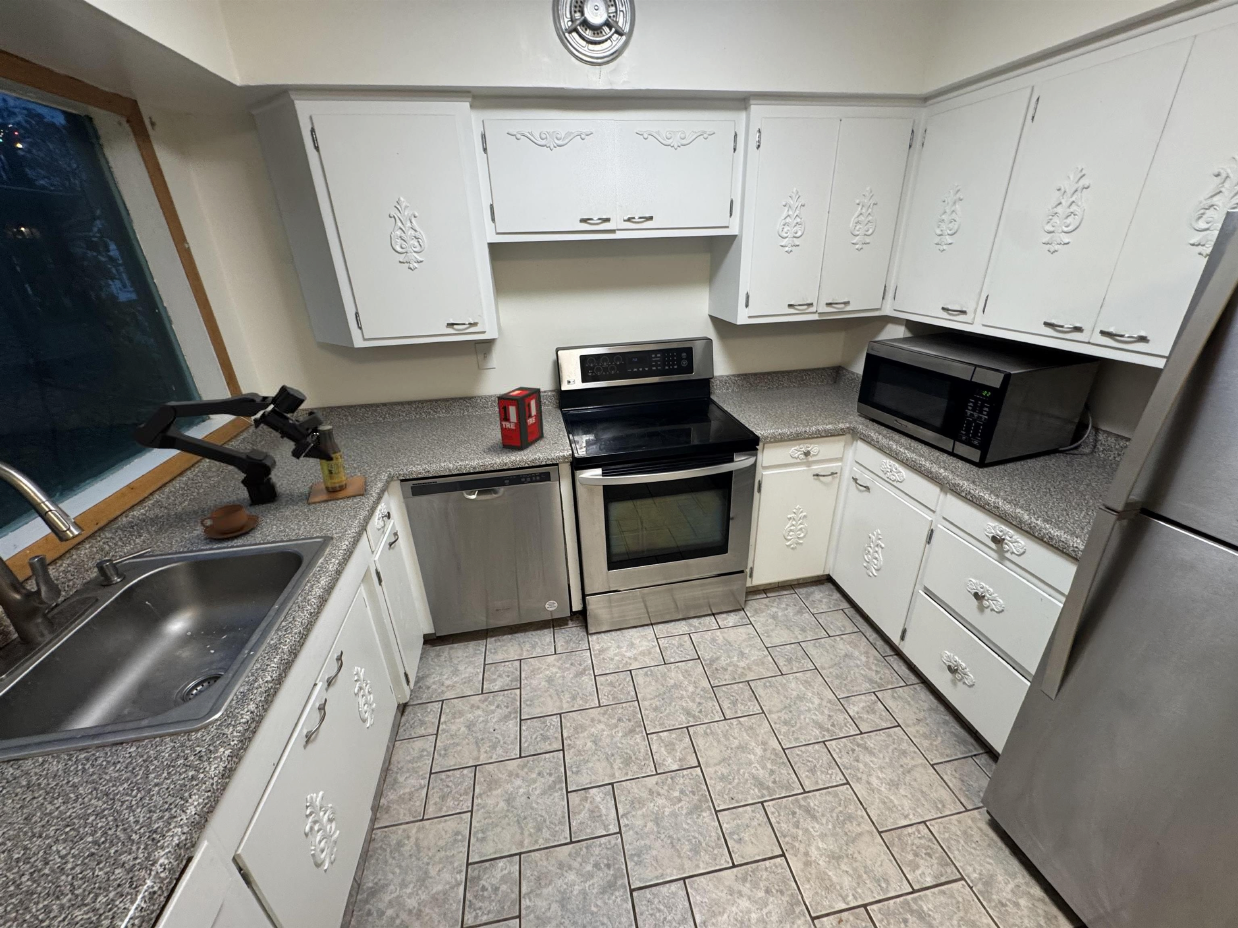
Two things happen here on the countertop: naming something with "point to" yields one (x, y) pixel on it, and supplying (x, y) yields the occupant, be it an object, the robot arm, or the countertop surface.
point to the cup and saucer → (229, 521)
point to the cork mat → (352, 489)
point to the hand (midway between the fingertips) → (334, 456)
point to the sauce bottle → (331, 469)
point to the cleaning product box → (520, 417)
